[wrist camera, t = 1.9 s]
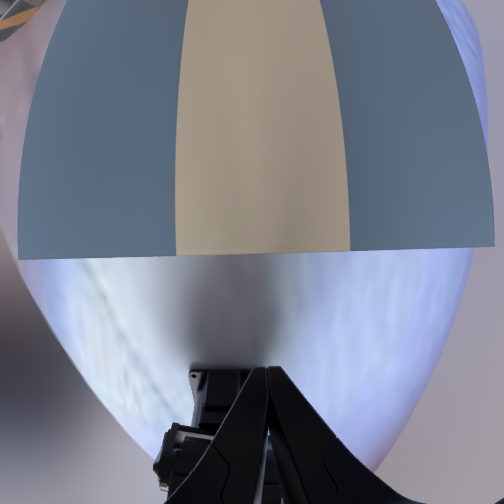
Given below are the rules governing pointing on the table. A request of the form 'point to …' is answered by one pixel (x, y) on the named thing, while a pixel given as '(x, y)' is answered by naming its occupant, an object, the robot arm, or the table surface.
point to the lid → (252, 131)
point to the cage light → (16, 15)
